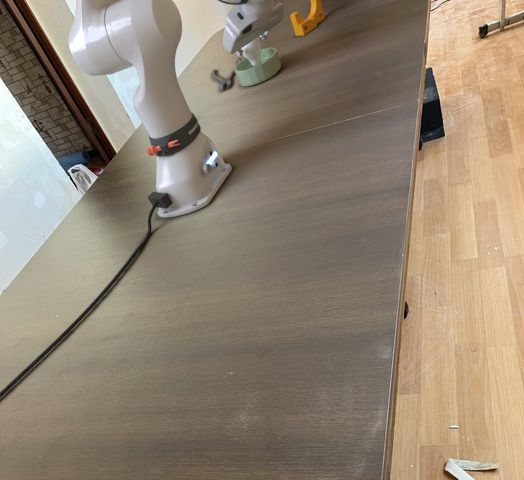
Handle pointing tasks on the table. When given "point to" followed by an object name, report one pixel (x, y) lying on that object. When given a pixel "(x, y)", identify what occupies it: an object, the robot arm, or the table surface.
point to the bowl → (258, 68)
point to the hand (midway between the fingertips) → (251, 46)
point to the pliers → (227, 80)
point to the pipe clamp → (311, 22)
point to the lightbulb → (253, 52)
